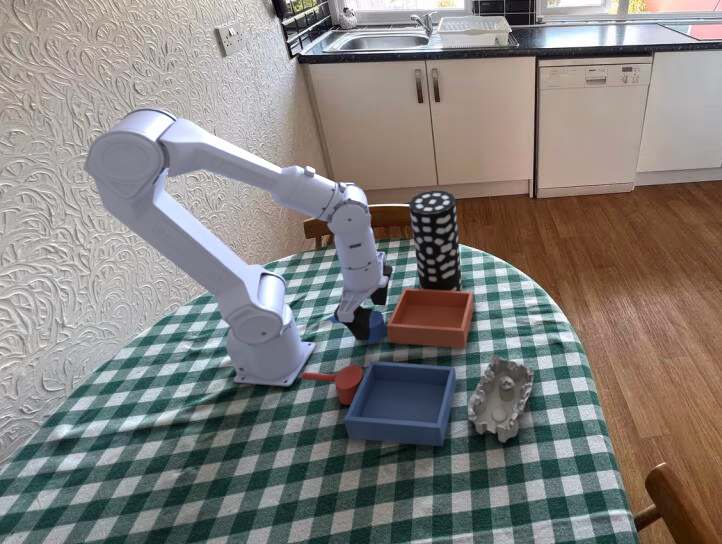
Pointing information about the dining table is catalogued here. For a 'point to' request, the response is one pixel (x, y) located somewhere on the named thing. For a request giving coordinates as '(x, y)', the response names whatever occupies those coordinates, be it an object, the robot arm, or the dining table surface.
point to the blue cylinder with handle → (373, 327)
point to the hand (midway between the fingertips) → (371, 320)
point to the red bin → (431, 318)
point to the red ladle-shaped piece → (341, 381)
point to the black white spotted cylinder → (436, 240)
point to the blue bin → (402, 404)
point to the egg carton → (500, 397)
